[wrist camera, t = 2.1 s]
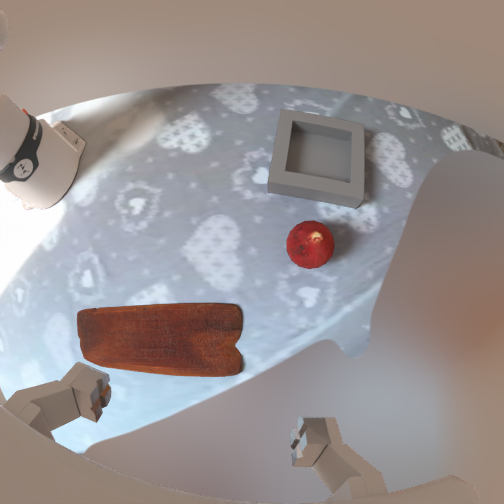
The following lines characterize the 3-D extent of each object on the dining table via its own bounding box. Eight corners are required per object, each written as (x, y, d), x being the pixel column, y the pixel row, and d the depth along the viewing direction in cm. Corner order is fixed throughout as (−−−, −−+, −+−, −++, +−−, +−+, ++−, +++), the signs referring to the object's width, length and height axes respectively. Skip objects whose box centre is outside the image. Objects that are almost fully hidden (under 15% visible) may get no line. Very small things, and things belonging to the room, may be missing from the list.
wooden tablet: (241, 301, 37) (240, 301, 35) (245, 374, 34) (244, 377, 33) (78, 302, 38) (72, 301, 36) (81, 363, 35) (75, 364, 34)
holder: (356, 208, 38) (363, 199, 34) (267, 192, 39) (267, 181, 35) (357, 137, 40) (363, 125, 37) (280, 122, 41) (280, 109, 38)
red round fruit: (297, 280, 36) (305, 272, 28) (277, 241, 37) (279, 224, 29) (334, 260, 36) (351, 247, 28) (314, 223, 37) (325, 201, 30)
